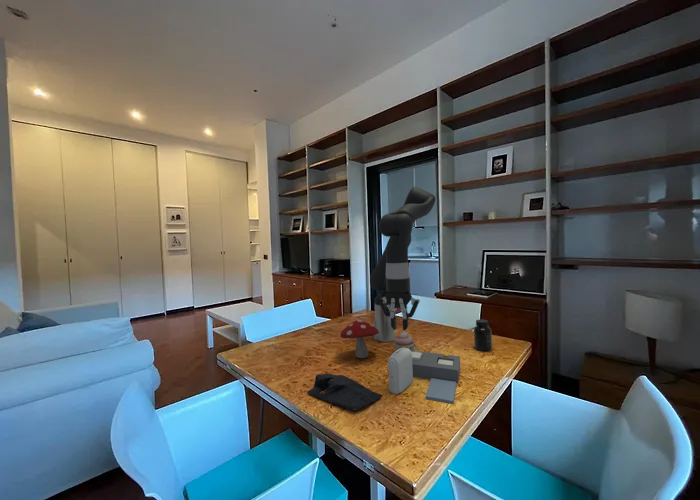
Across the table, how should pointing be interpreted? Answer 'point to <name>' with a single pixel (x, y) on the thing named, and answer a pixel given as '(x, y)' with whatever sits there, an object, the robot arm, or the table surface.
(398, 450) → the table surface
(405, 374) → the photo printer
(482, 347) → the supplement bottle
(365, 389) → the folded black shirt
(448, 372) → the switch box
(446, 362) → the right switch
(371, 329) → the decorative mushroom
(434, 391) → the pad
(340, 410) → the table surface
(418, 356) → the left switch
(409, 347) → the cupcake
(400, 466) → the table surface
